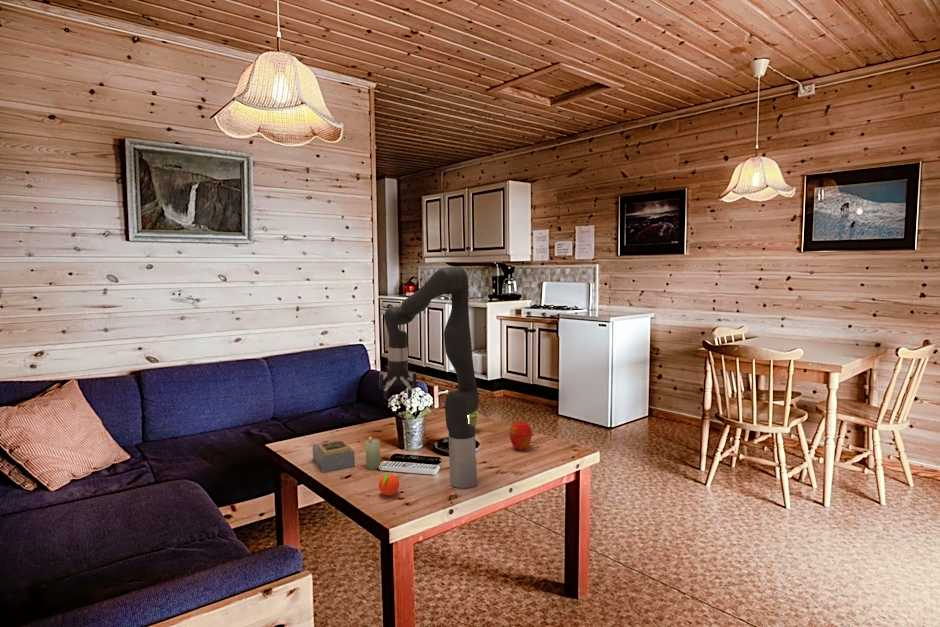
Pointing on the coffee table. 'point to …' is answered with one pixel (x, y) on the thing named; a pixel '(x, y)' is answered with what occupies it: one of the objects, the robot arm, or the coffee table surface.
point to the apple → (520, 435)
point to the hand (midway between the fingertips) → (397, 399)
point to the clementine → (389, 484)
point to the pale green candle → (372, 453)
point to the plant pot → (473, 418)
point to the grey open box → (333, 455)
